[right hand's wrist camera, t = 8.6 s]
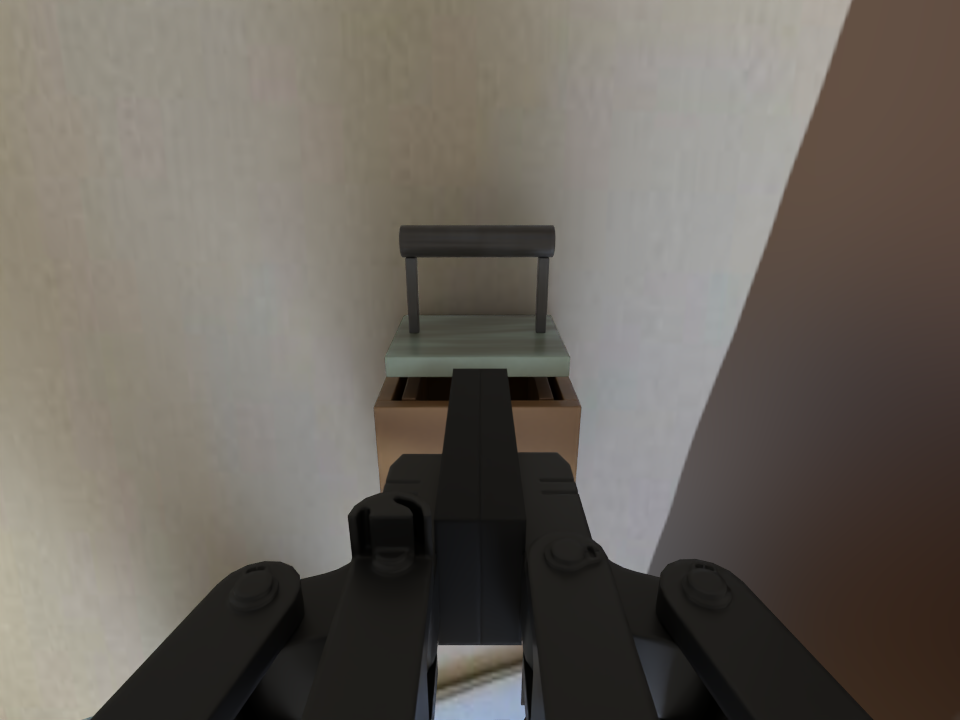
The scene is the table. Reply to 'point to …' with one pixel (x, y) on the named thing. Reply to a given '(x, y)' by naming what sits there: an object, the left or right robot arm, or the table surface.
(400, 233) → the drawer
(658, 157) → the table surface
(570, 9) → the table surface
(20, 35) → the table surface
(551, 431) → the cabinet
